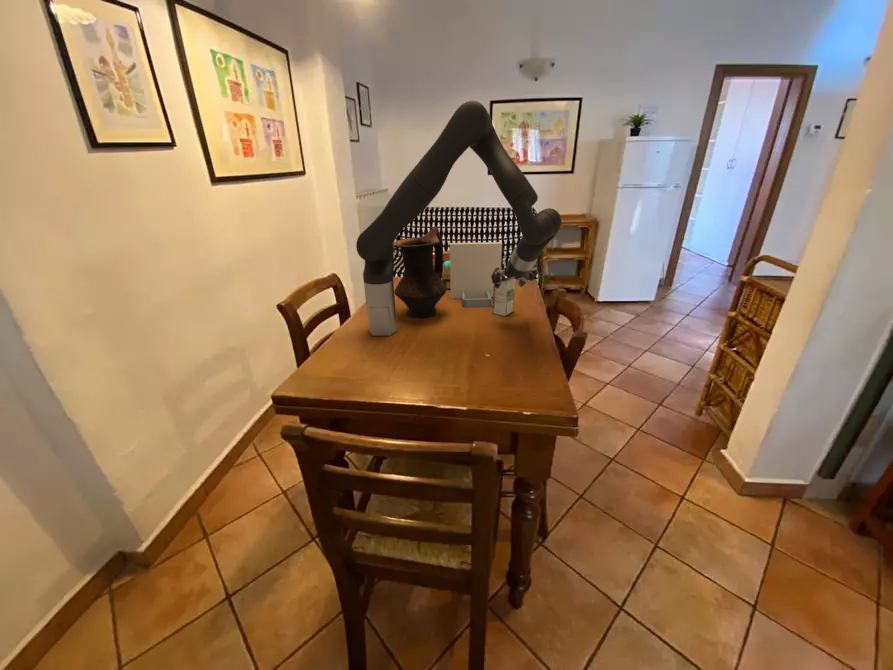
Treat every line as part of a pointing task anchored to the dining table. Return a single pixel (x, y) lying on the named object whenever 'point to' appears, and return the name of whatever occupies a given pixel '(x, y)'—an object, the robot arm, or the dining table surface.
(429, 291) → the jug
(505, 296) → the syrup box
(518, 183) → the robot arm
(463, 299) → the wall holder
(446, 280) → the ammunition clip
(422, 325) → the dining table surface
